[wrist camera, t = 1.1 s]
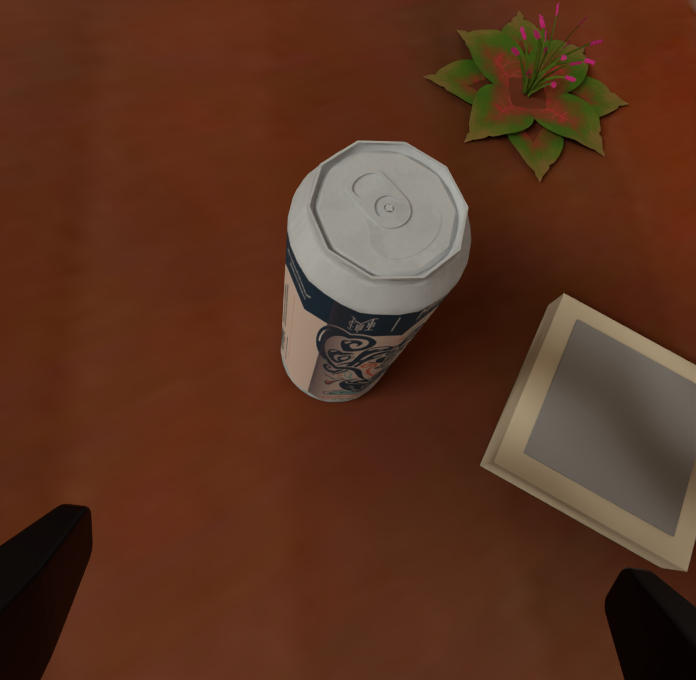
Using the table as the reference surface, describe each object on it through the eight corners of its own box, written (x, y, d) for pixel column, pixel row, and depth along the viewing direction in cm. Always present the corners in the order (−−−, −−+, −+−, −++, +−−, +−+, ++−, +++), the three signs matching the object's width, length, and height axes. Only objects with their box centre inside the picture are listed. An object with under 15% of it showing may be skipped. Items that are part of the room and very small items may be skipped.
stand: (661, 567, 23) (689, 571, 21) (479, 465, 23) (494, 461, 21) (708, 393, 26) (736, 385, 24) (548, 305, 26) (565, 292, 24)
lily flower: (384, 81, 30) (403, 8, 26) (512, -5, 34) (547, -81, 29) (537, 223, 28) (585, 171, 24) (653, 115, 32) (713, 53, 28)
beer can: (326, 426, 22) (381, 340, 11) (259, 344, 23) (246, 185, 12) (405, 361, 24) (523, 226, 13) (339, 286, 25) (396, 95, 13)
